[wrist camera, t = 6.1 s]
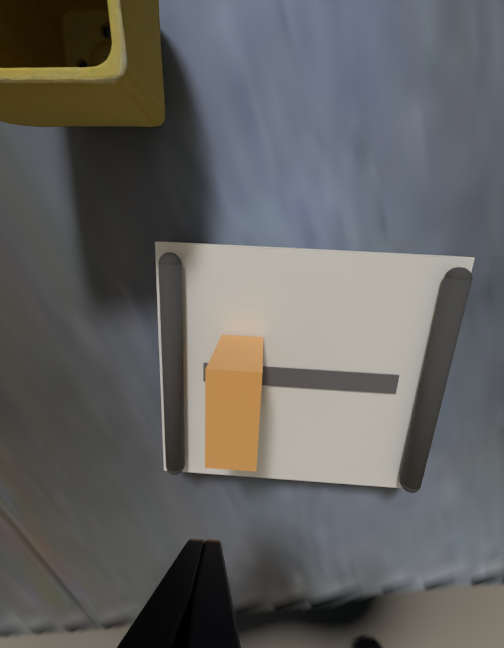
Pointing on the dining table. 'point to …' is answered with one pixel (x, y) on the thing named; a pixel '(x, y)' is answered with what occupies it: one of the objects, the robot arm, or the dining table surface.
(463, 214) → the dining table surface
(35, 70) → the flower pot
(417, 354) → the box
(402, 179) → the dining table surface
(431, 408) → the pair of mounting rails
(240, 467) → the handle
